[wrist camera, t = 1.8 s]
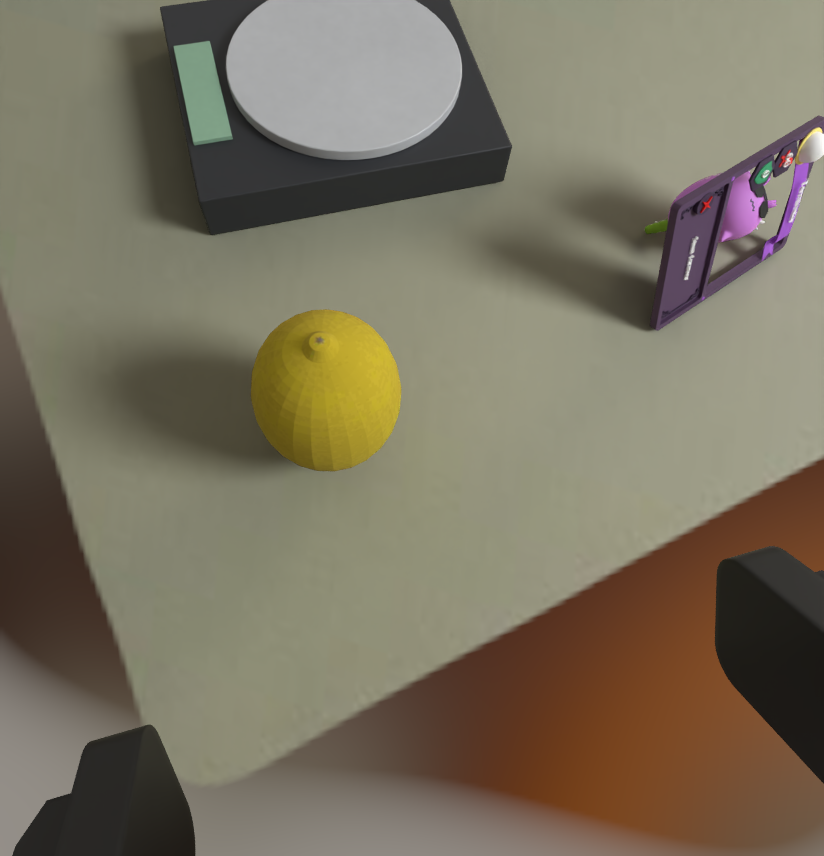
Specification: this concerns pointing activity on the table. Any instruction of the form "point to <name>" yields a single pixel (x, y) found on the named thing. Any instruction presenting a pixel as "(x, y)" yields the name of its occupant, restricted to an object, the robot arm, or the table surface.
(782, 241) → the purple toy
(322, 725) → the table surface
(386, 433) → the lemon
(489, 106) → the scale
